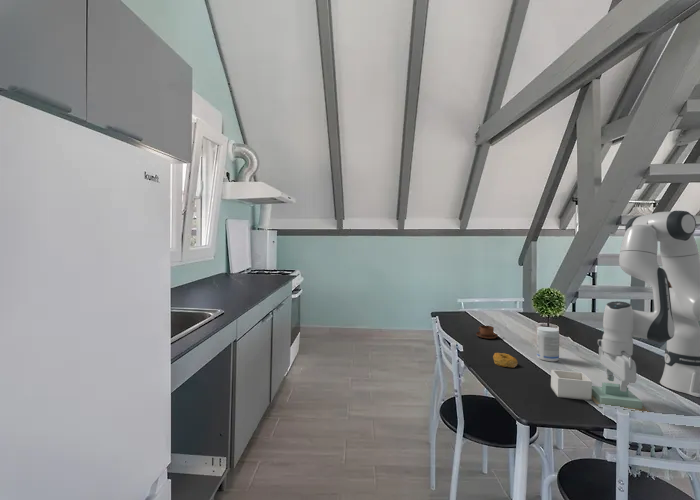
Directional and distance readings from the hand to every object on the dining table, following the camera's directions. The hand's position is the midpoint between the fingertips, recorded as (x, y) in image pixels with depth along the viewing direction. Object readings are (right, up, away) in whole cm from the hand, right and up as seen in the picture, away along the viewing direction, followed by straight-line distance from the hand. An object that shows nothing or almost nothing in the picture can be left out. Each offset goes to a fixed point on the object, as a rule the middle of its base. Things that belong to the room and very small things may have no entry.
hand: (616, 385), depth 131 cm
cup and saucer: (-15, -3, +83) cm, 84 cm away
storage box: (-13, -6, +7) cm, 15 cm away
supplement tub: (0, -4, +46) cm, 46 cm away
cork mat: (0, -6, 0) cm, 6 cm away
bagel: (-24, -5, +38) cm, 45 cm away
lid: (0, -6, 0) cm, 6 cm away
